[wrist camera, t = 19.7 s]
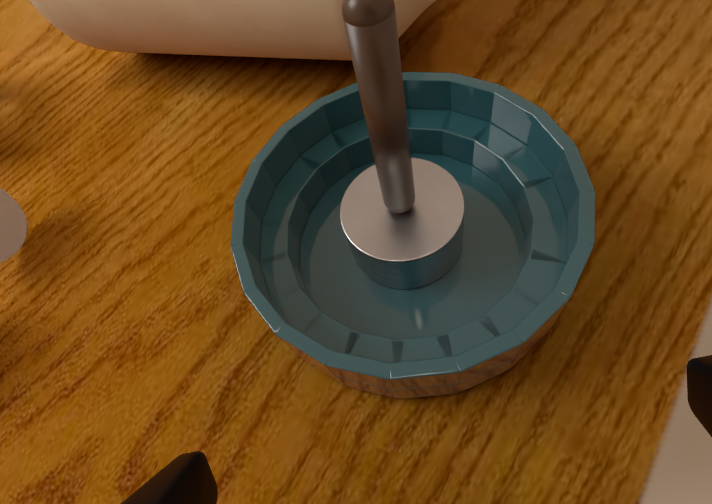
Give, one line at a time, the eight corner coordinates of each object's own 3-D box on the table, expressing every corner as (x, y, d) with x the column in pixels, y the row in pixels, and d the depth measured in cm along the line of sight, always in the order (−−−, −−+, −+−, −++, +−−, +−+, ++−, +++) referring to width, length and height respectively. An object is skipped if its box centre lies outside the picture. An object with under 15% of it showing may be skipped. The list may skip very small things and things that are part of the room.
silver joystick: (429, 309, 20) (407, 87, 9) (331, 260, 22) (214, 30, 11) (481, 216, 22) (518, -67, 11) (386, 179, 24) (333, -90, 13)
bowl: (640, 312, 19) (690, 267, 15) (320, 458, 19) (287, 450, 15) (469, 98, 27) (472, 31, 23) (238, 198, 26) (201, 148, 22)
